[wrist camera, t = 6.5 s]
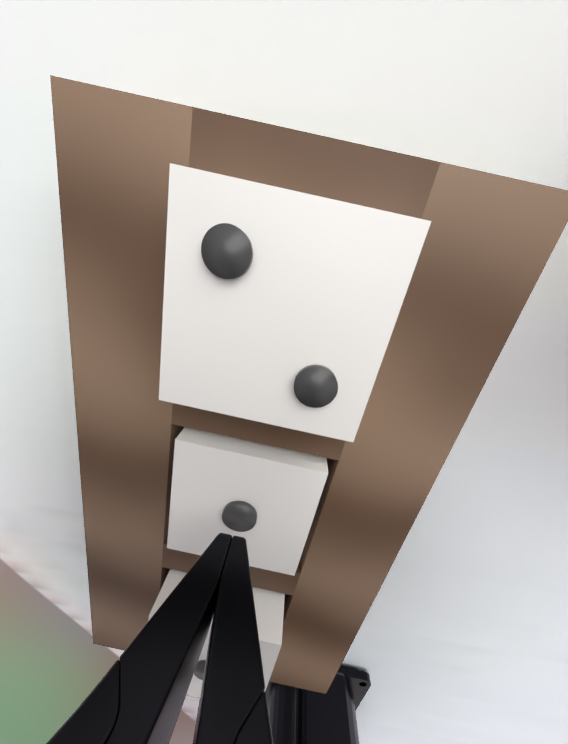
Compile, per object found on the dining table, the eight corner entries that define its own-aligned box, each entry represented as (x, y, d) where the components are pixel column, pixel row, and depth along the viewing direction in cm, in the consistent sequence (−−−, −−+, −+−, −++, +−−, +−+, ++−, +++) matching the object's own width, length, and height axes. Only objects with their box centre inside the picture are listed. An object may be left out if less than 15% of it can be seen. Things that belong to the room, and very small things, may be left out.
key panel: (322, 621, 16) (325, 693, 13) (130, 579, 16) (93, 643, 13) (491, 221, 9) (581, 193, 6) (132, 141, 9) (50, 75, 6)
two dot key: (343, 409, 8) (354, 447, 6) (188, 375, 8) (154, 403, 6) (398, 235, 7) (436, 218, 5) (204, 192, 7) (164, 158, 5)
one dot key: (295, 533, 12) (294, 581, 10) (186, 509, 12) (164, 553, 10) (324, 440, 10) (328, 477, 8) (196, 412, 10) (172, 443, 8)
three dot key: (264, 654, 13) (257, 717, 11) (165, 633, 13) (142, 692, 11) (285, 590, 11) (281, 652, 10) (171, 565, 11) (145, 623, 10)
